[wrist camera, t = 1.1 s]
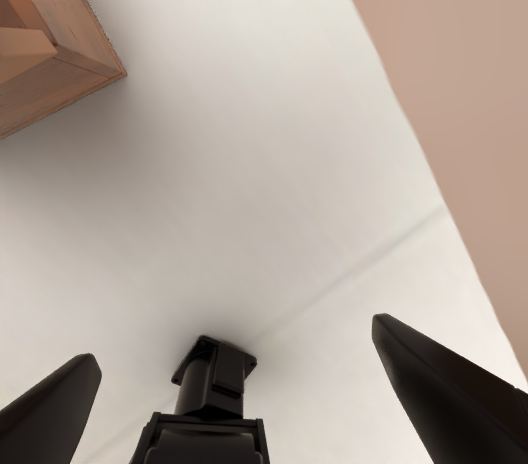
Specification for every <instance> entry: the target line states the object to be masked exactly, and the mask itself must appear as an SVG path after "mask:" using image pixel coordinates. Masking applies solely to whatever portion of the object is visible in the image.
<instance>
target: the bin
mask: <svg viewBox="0 0 528 464" xmlns="http://www.w3.org/2000/svg"><path fill="white" fill-rule="evenodd" d="M0 27H5V28H20V29H34V30H42V31H43V33H44V34H45V35H46V37H47V38H48V39H49V41H50V42H51V44H52V45H53V46H54V48H55V49H56V50H57V52H58V53H57V54H56V55H54V56H52V57H50V58H48V59H46V60H44V61H43V62H41V63H39V64H37V65H35V66H33V67H31V68H30V69H28V70H26V71H24V72H22V73H20V74H18V75H16V76H15V77H13V78H11V79H9V80H7V81H5V82H3V83H1V84H0V140H1V139H3V138H5V137H7V136H9V135H11V134H13V133H15V132H17V131H19V130H21V129H22V128H24V127H26V126H28V125H30V124H32V123H34V122H36V121H38V120H40V119H42V118H44V117H46V116H48V115H50V114H52V113H54V112H56V111H58V110H60V109H62V108H64V107H66V106H67V105H69V104H71V103H73V102H75V101H77V100H79V99H81V98H83V97H85V96H87V95H89V94H91V93H93V92H95V91H97V90H99V89H101V88H103V87H105V86H107V85H109V84H111V83H112V82H114V81H116V80H118V79H120V78H122V77H124V76H126V75H127V73H126V71H125V69H124V67H123V66H122V64H121V62H120V60H119V58H118V57H117V55H116V53H115V51H114V49H113V47H112V46H111V44H110V42H109V40H108V38H107V37H106V35H105V33H104V31H103V29H102V28H101V26H100V24H99V22H98V20H97V18H96V17H95V15H94V13H93V11H92V9H91V8H90V6H89V4H88V2H87V0H0Z"/></svg>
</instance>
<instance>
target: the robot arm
mask: <svg viewBox="0 0 528 464" xmlns="http://www.w3.org/2000/svg"><path fill="white" fill-rule="evenodd" d="M372 340H373V343H374V345H375V347H376V350H377V352H378V354H379V357H380V359H381V361H382V364H383V366H384V368H385V371H386V373H387V376H388V378H389V380H390V382H391V385H392V387H393V389H394V391H395V393H396V395H397V397H398V399H399V401H400V402H401V404H402V406H403V408H404V410H405V411H406V413H407V415H408V417H409V419H410V421H411V422H412V424H413V426H414V428H415V430H416V432H417V433H418V435H419V437H420V439H421V441H422V442H423V444H424V446H425V448H426V450H427V452H428V453H429V455H430V457H431V459H432V461H433V462H434V464H528V394H527V393H525V392H524V391H522V390H520V389H518V388H515V387H514V386H513V385H511V384H509V383H508V382H506V381H504V380H502V379H501V378H499V377H497V376H495V375H494V374H492V373H490V372H488V371H487V370H485V369H483V368H481V367H480V366H478V365H476V364H474V363H473V362H471V361H469V360H467V359H466V358H464V357H462V356H460V355H459V354H457V353H455V352H453V351H452V350H450V349H448V348H446V347H445V346H443V345H441V344H439V343H438V342H436V341H434V340H432V339H431V338H429V337H427V336H425V335H424V334H422V333H420V332H418V331H417V330H415V329H413V328H411V327H410V326H408V325H406V324H404V323H403V322H401V321H399V320H397V319H396V318H394V317H392V316H391V315H389V314H386V313H383V314H376V315H374V316H373V320H372ZM201 341H203V342H201ZM251 362H252V363H251ZM256 365H257V359H256V358H255V357H252V356H250V355H247V354H245V353H243V352H240V351H238V350H236V349H233V348H231V347H229V346H226V345H224V344H221V343H219V342H217V341H214V340H212V339H210V338H207V337H205V336H201V337H199V338H198V339H197V341H196V342H195V344H194V345H193V347H192V348H191V349H190V351H189V352H188V354H187V355H186V357H185V358H184V360H183V361H182V362H181V364H180V365H179V367H178V368H177V370H176V371H175V373H174V374H173V376H172V379H171V382H172V383H174V384H176V385H179V386H181V388H180V392H179V396H178V400H177V404H176V408H175V412H174V414H161V412H154V413H153V415H152V418H151V420H150V422H148V423H147V425H146V426H145V427H144V428H143V431H142V434H141V437H140V440H139V442H138V445H137V448H136V450H135V453H134V455H133V457H132V458H131V460H130V462H129V464H270V461H269V455H268V449H267V443H266V437H265V431H264V425H263V419H258V418H256V420H253V419H243V393H244V380H245V379H246V378H247V376H248V375H249V374H250V373H251V372H252V370H253V369H254V368H255V367H256ZM101 377H102V374H101V370H100V368H99V366H98V363H97V361H96V359H95V357H94V355H93V354H90V353H88V354H80V355H77V356H75V357H74V358H72V359H71V360H69V361H68V362H67V363H65V364H64V365H63V366H61V367H60V368H58V369H57V370H56V371H54V372H53V373H52V374H50V375H49V376H47V377H46V378H45V379H43V380H42V381H41V382H39V383H38V384H36V385H35V386H34V387H32V388H31V389H30V390H28V391H27V392H25V393H24V394H23V395H21V396H20V397H19V398H17V399H16V400H14V401H13V402H12V403H10V404H9V405H8V406H6V407H5V408H3V409H2V410H1V411H0V464H70V462H71V460H72V457H73V455H74V453H75V450H76V448H77V446H78V444H79V441H80V439H81V436H82V434H83V431H84V428H85V426H86V423H87V420H88V417H89V414H90V411H91V408H92V405H93V402H94V399H95V396H96V393H97V390H98V387H99V384H100V382H101Z"/></svg>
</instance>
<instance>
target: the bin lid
mask: <svg viewBox="0 0 528 464" xmlns="http://www.w3.org/2000/svg"><path fill="white" fill-rule="evenodd" d="M57 53H58V52H57V50H56V49H55V48H54V46H53V45H52V44H51V42H50V41H49V39H48V38H47V37H46V35H45V34H44V33H43V31H42V30H34V29H20V28H5V27H0V84H1V83H3V82H5V81H7V80H9V79H11V78H13V77H15V76H16V75H18V74H20V73H22V72H24V71H26V70H28V69H30V68H31V67H33V66H35V65H37V64H39V63H41V62H43V61H44V60H46V59H48V58H50V57H52V56H54V55H56V54H57Z"/></svg>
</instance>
